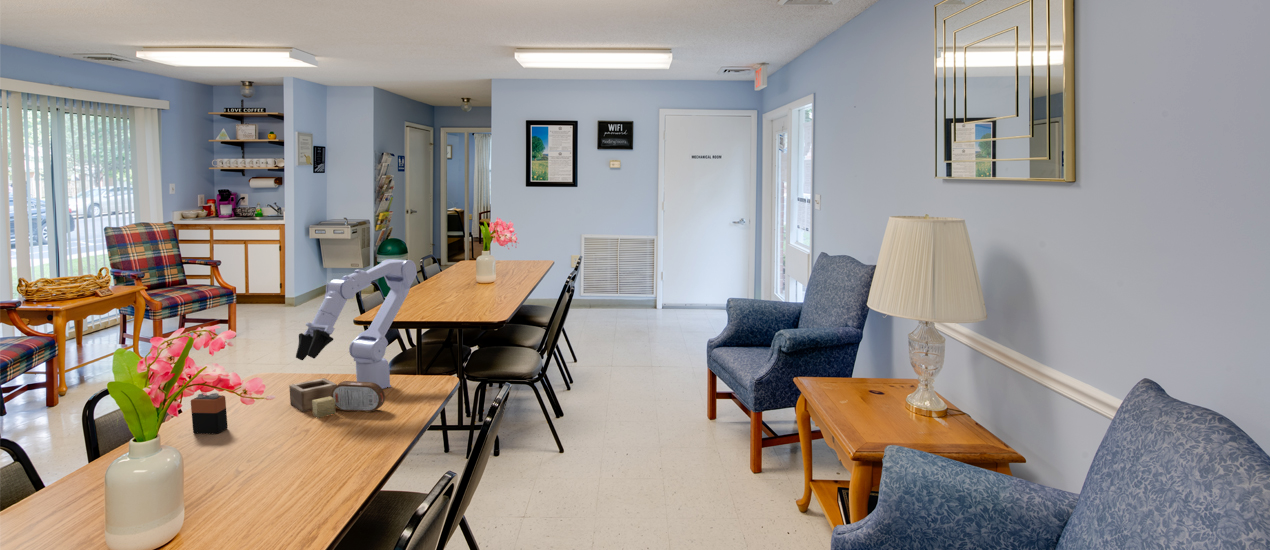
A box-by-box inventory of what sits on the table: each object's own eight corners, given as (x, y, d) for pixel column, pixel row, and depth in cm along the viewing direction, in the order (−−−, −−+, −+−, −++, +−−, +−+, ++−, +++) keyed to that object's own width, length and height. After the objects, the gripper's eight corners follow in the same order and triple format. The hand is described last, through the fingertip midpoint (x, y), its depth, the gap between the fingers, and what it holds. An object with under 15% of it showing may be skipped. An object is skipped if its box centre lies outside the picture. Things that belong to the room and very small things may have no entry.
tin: (386, 410, 196) (384, 381, 195) (381, 413, 193) (379, 384, 192) (336, 408, 198) (334, 379, 197) (330, 411, 195) (328, 382, 194)
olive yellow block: (331, 411, 195) (330, 396, 194) (335, 414, 193) (334, 398, 192) (312, 415, 191) (312, 400, 191) (317, 418, 189) (316, 402, 188)
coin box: (325, 397, 207) (324, 378, 206) (337, 404, 201) (336, 384, 200) (290, 404, 200) (289, 384, 199) (302, 412, 194) (301, 391, 193)
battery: (218, 434, 177) (215, 397, 175) (192, 433, 177) (189, 396, 175) (228, 428, 181) (225, 391, 180) (203, 427, 181) (200, 391, 180)
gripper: (303, 312, 201) (281, 353, 195) (326, 306, 192) (303, 349, 186) (325, 323, 206) (303, 364, 199) (348, 318, 196) (326, 360, 190)
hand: (305, 357), depth 193 cm, fingers open, 7 cm apart
